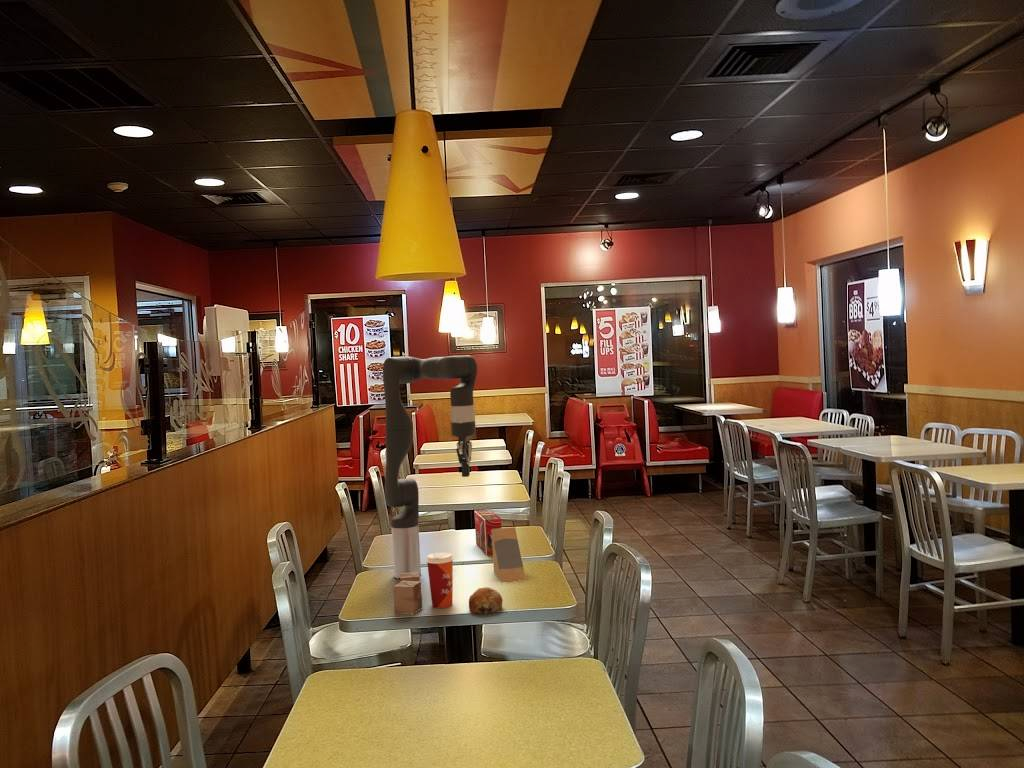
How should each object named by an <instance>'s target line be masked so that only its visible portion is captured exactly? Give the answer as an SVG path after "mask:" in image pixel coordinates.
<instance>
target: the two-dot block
mask: <svg viewBox="0 0 1024 768" xmlns="http://www.w3.org/2000/svg"><path fill="white" fill-rule="evenodd" d="M420 577H421V575H420V574H419V572H409V573H400V579H399V583H400V582H401V581H421V578H420Z"/></svg>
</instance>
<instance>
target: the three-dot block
mask: <svg viewBox="0 0 1024 768" xmlns="http://www.w3.org/2000/svg"><path fill="white" fill-rule="evenodd" d="M393 598H394V599H393V600H394V601H393V603H394V614H398V613H415V612H416V611H418V610H419V609H420V610H422V609H423V595H422V581H421V580H420V581H401V582H400V581H399V583H397V584H394V585H393ZM421 608H422V609H421ZM420 610H419V611H420ZM419 611H418V612H419ZM416 613H417V612H416ZM416 613H415V614H416Z"/></svg>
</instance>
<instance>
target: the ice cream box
mask: <svg viewBox="0 0 1024 768" xmlns="http://www.w3.org/2000/svg"><path fill="white" fill-rule="evenodd" d="M474 525H475V526H474V528H475V529H474V530H475V543H476V544H477V547H478V548H479V549H480V550H481V551H482V552H483V554H484V555H485V556H493V548H492V529H497V528H503V527H502V518H501V517H500V516H499V515H497V513H495V512H494V511H493V510H491V509H482V510H474ZM476 544H475V545H476Z"/></svg>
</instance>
